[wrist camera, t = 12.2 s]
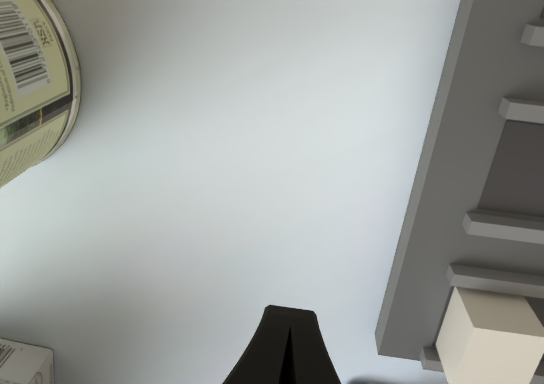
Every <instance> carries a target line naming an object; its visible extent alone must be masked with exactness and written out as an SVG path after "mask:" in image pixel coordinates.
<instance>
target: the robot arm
mask: <svg viewBox="0 0 544 384" xmlns="http://www.w3.org/2000/svg"><path fill="white" fill-rule="evenodd" d="M222 384H341V382H340V380H339V378H338V376H337V373H336V371H335V369H334V366H333V364H332V362H331V359H330V357H329V354H328V352H327V349H326V347H325V344H324V341H323V338H322V335H321V332H320V329H319V325H318V321H317V316H316V314H315V313H314V312H313V311H310V310H303V309H296V308H289V307H281V306H274V305H269V306H267V307H265V310H264V314H263V317H262V319H261V322H260V324H259V326H258V328H257V330H256V332H255V334H254V336H253V338H252V340H251V341H250V343H249V345H248V346H247V348H246V350H245V351H244V353H243V355H242V356H241V358H240V359H239V361H238V362H237V364H236V365H235V367H234V368H233V369H232V371H231V372H230V374H229V375H228V377H227V378H226V379H225V381H224V382H223V383H222Z"/></svg>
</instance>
